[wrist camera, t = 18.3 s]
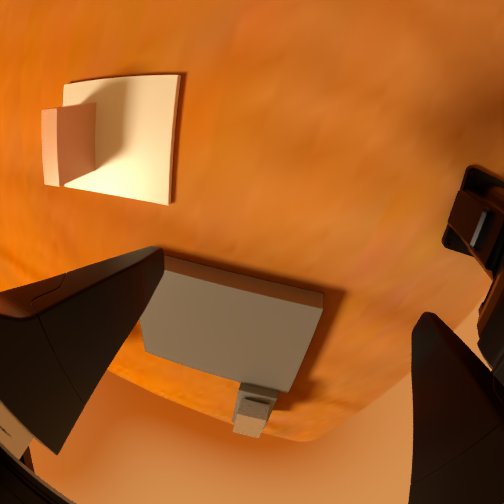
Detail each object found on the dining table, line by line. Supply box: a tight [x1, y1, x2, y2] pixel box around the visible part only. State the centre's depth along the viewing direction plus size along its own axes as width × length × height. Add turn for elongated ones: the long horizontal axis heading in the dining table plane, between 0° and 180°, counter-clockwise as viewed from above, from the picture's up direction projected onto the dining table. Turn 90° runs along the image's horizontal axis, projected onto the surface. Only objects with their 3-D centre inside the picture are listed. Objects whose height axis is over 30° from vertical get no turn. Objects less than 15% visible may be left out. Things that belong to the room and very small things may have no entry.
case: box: [140, 255, 324, 429], centre depth 27 cm, size 16×20×3 cm
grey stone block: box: [233, 398, 270, 438], centre depth 27 cm, size 3×5×2 cm, turn 171°
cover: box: [42, 75, 181, 205], centre depth 18 cm, size 12×10×6 cm
